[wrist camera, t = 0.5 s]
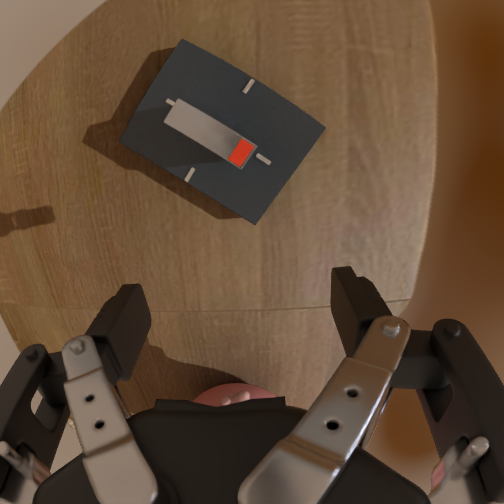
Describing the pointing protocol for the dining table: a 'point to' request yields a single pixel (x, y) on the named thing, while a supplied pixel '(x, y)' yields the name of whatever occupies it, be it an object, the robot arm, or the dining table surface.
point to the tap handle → (211, 132)
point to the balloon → (231, 394)
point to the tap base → (235, 113)
